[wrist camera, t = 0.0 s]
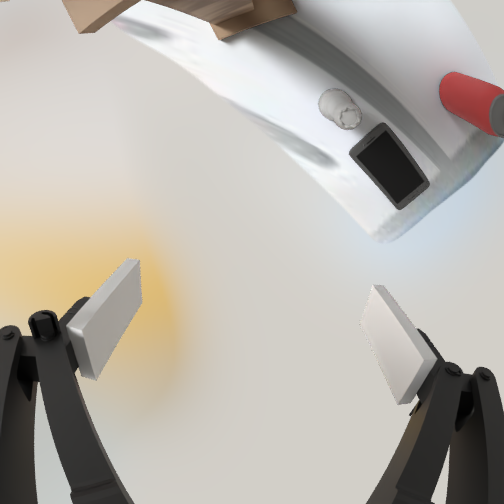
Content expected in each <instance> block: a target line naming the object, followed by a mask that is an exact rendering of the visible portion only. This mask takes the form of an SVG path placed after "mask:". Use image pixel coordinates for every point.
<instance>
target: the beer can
mask: <svg viewBox="0 0 504 504" xmlns="http://www.w3.org/2000/svg"><path fill="white" fill-rule="evenodd" d="M439 94H440V99H441V101H442V103H443V105H444V106H445V108H446V109H447V110H448V111H450V112H451V113H453V114H455V115H457V116H459V117H460V118H462V119H464V120H466V121H467V122H469V123H471V124H473V125H474V126H476V127H478V128H479V129H481V130H482V131H484V132H486V133H487V134H490V135H493V136H499V137H501V138H504V90H503V89H501V88H500V87H498V86H495V85H493V84H490V83H487V82H485V81H482V80H479V79H476V78H473V77H470V76H467V75H464V74H461V73H457V72H451V73H449V74H447V75H445V77H444V78H443V79H442V81H441V84H440V89H439Z"/></svg>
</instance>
